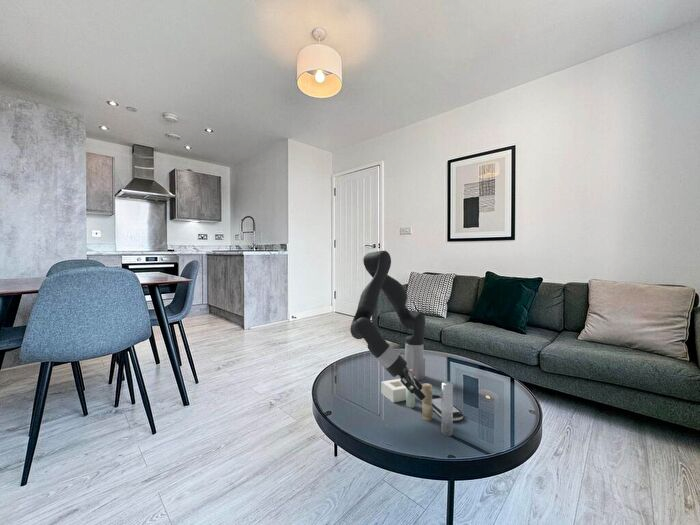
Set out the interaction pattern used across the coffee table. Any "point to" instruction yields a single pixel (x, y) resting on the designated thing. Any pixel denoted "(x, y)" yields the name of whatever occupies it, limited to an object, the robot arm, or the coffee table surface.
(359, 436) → the coffee table surface
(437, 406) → the gaming console
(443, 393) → the aluminium pin
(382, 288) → the robot arm
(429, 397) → the birch pin
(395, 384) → the socket block
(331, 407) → the coffee table surface
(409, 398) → the sage pin
